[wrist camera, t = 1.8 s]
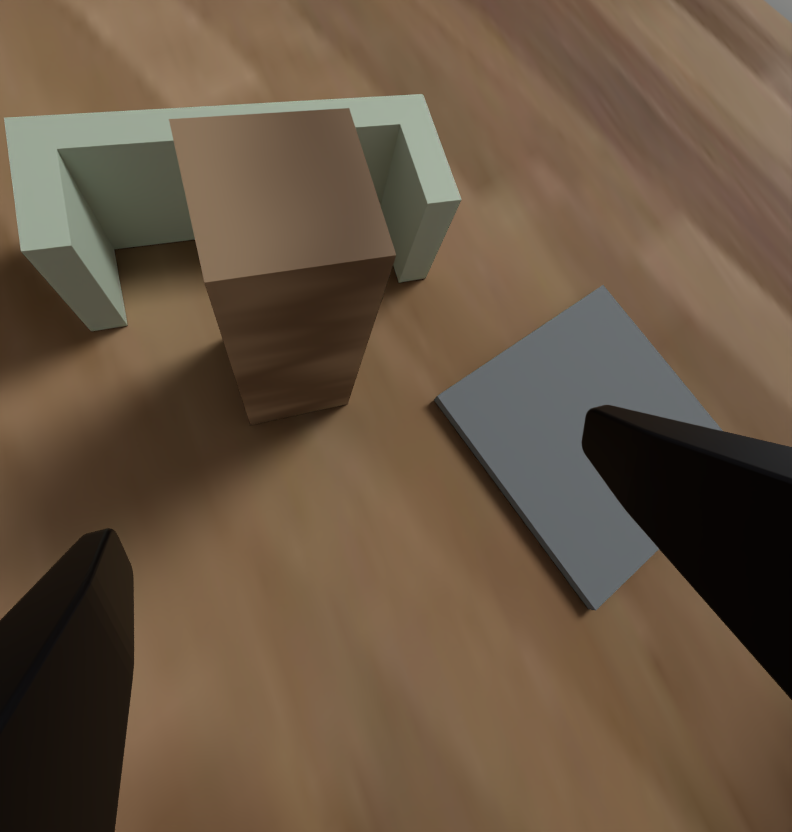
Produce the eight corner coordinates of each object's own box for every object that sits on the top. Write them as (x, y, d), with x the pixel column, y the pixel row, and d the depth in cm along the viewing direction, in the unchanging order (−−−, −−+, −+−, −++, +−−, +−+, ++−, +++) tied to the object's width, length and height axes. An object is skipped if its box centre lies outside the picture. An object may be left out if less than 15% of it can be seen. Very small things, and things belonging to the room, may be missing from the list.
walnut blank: (250, 425, 22) (204, 282, 11) (230, 334, 23) (169, 119, 12) (347, 404, 23) (396, 255, 12) (324, 318, 24) (349, 108, 13)
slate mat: (588, 609, 23) (596, 610, 22) (433, 400, 24) (437, 396, 24) (738, 464, 27) (748, 462, 26) (596, 290, 28) (603, 284, 28)
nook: (91, 331, 22) (21, 251, 16) (74, 226, 23) (4, 118, 18) (425, 278, 26) (461, 199, 21) (396, 190, 27) (423, 94, 22)
